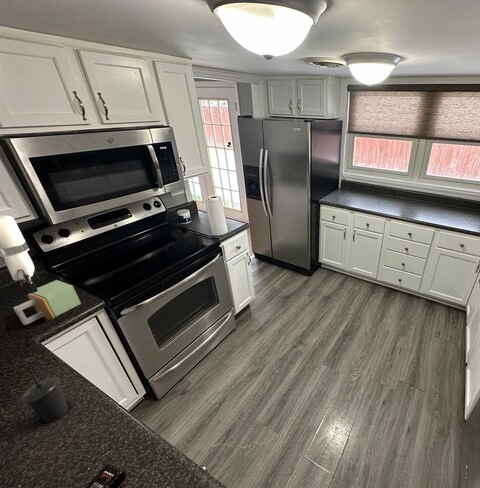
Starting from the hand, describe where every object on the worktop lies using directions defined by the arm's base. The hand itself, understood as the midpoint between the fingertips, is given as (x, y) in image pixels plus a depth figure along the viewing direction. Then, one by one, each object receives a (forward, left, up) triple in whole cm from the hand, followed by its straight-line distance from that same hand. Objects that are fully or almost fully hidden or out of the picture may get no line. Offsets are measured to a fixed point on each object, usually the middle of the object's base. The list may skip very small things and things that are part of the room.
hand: (33, 286), depth 105 cm
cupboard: (+8, +11, -22) cm, 26 cm away
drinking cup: (-23, -47, -22) cm, 57 cm away
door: (-1, +11, -22) cm, 25 cm away
